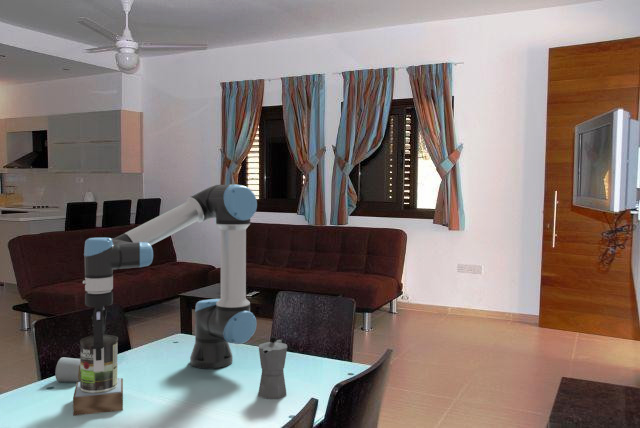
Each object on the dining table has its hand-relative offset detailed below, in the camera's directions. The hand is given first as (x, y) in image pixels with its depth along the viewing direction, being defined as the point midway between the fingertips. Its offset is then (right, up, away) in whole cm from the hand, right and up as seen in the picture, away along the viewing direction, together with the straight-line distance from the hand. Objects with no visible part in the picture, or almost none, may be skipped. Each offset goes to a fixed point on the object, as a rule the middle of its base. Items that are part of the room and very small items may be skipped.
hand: (99, 363), depth 164 cm
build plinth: (0, -12, 0) cm, 12 cm away
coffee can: (0, -7, 0) cm, 7 cm away
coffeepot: (+50, -12, +12) cm, 53 cm away
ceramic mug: (-17, -11, +21) cm, 30 cm away
